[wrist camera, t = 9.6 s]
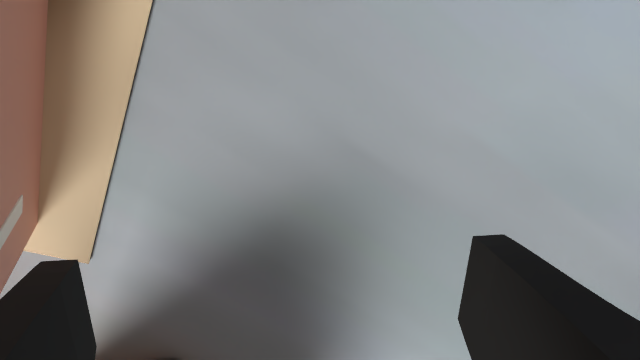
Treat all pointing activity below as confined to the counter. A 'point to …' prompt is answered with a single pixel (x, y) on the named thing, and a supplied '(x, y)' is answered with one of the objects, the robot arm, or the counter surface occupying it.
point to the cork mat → (83, 116)
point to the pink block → (20, 124)
